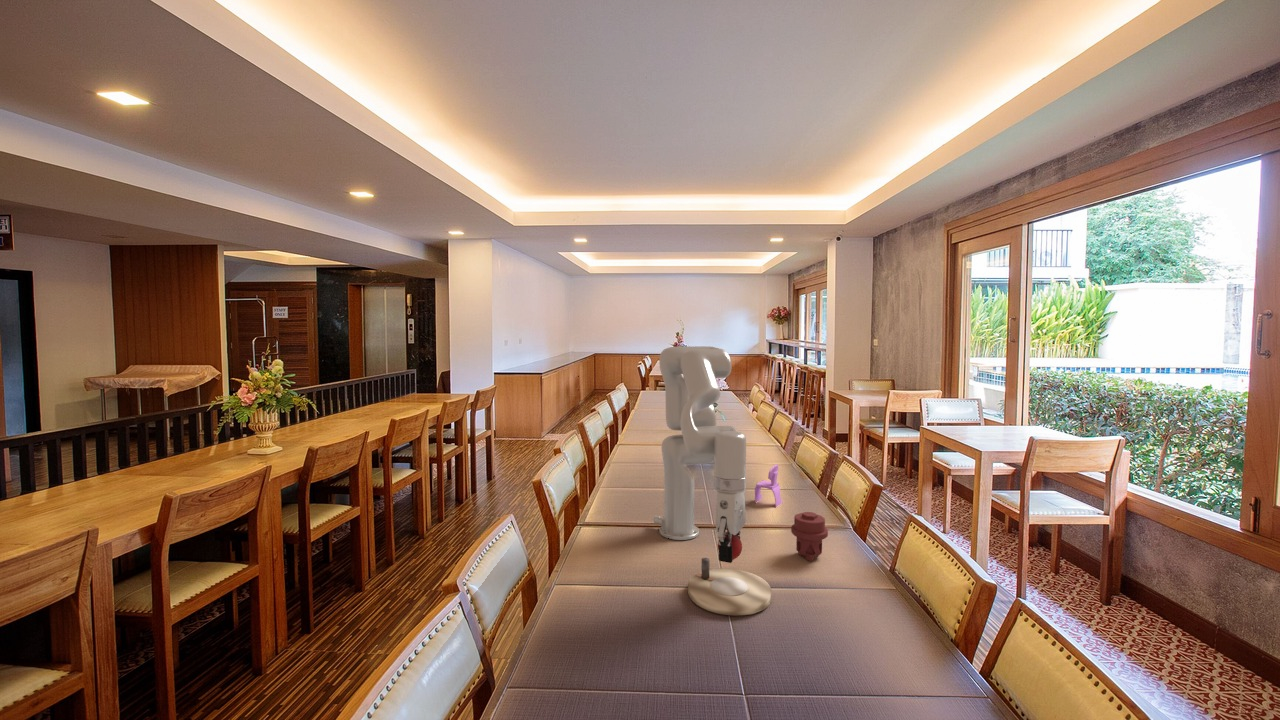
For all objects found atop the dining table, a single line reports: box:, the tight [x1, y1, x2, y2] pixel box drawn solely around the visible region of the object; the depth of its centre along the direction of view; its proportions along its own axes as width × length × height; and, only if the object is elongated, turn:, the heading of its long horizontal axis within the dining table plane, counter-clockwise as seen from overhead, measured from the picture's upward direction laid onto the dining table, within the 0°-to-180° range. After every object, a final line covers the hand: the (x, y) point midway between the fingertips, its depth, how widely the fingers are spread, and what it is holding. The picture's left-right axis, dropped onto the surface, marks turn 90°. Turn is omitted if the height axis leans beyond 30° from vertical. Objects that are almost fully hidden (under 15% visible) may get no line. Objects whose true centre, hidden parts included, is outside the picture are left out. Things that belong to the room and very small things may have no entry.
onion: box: [717, 530, 743, 561], centre depth 129 cm, size 6×6×8 cm
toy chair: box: [754, 464, 783, 508], centre depth 199 cm, size 8×9×15 cm
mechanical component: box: [790, 511, 829, 562], centre depth 152 cm, size 12×10×10 cm
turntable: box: [687, 557, 772, 616], centre depth 130 cm, size 20×20×6 cm
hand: (729, 555), depth 129 cm, fingers closed on onion, 5 cm apart
